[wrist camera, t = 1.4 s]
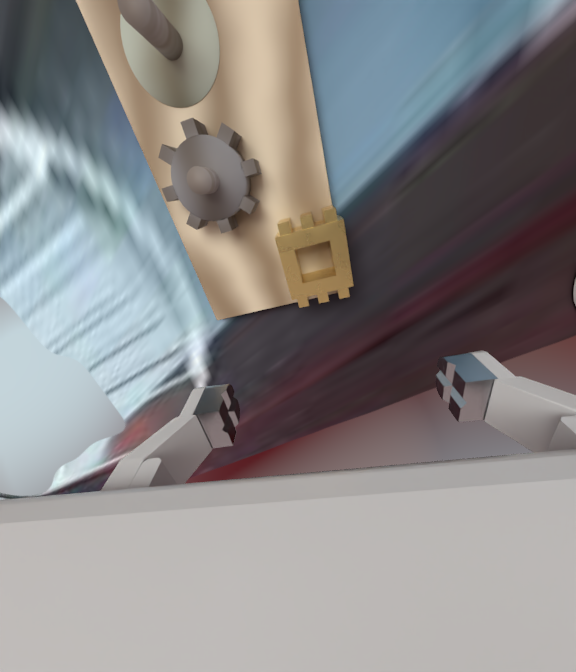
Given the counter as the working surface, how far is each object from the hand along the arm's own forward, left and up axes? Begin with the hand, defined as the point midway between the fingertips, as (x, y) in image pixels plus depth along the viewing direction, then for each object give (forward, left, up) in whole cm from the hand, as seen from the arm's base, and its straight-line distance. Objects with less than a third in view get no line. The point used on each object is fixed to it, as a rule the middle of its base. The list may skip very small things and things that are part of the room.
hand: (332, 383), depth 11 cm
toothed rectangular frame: (0, -1, -19) cm, 19 cm away
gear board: (+5, -10, -20) cm, 23 cm away
